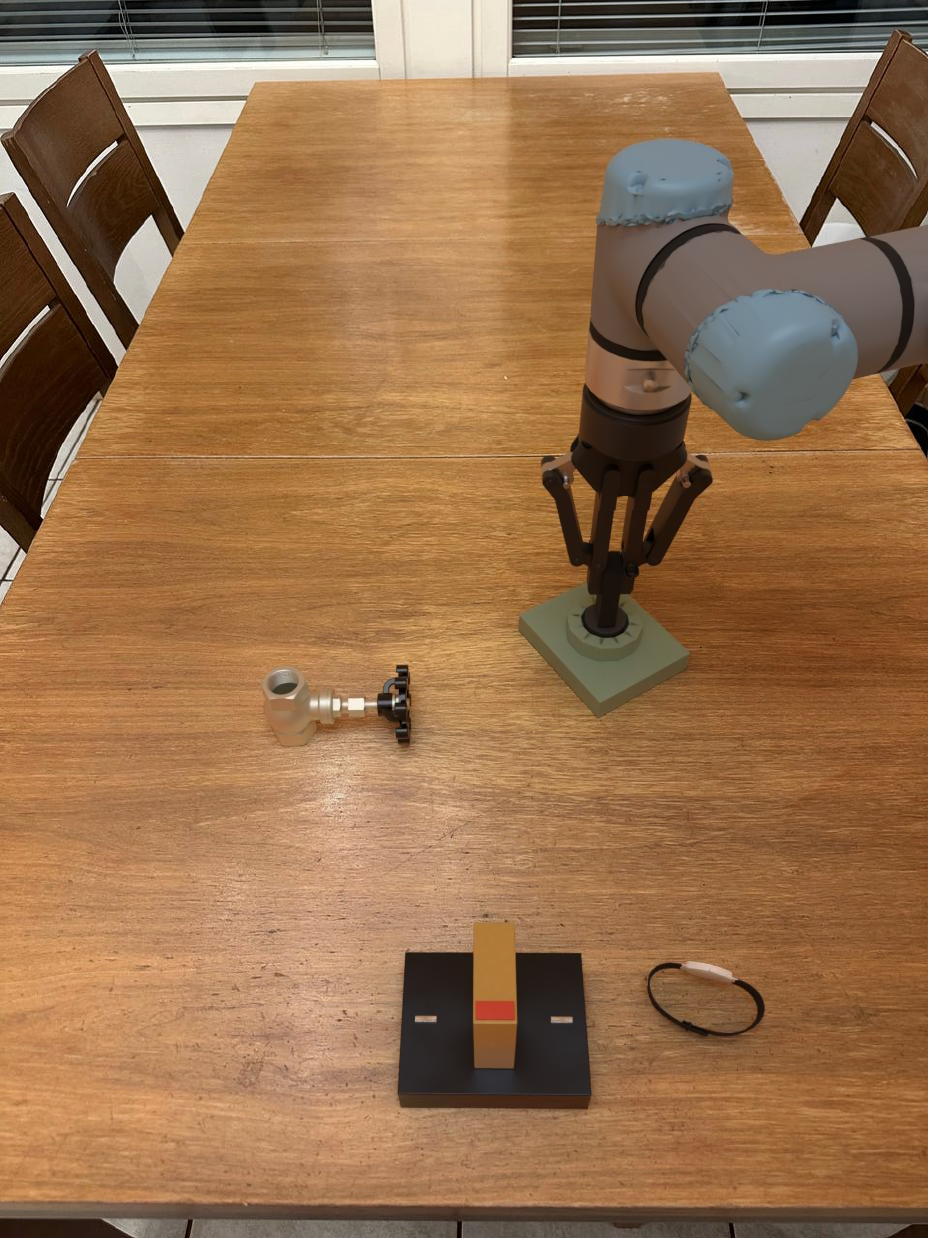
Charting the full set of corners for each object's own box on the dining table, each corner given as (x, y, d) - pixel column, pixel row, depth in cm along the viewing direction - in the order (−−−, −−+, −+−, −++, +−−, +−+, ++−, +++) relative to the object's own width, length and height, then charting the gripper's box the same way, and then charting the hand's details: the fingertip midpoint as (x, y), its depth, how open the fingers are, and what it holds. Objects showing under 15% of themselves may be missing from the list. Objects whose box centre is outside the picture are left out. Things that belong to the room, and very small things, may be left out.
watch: (760, 988, 65) (772, 967, 63) (755, 1057, 62) (767, 1038, 60) (649, 958, 67) (656, 936, 64) (638, 1024, 64) (645, 1004, 61)
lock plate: (578, 970, 66) (581, 951, 64) (588, 1109, 60) (592, 1094, 58) (407, 969, 67) (404, 950, 64) (400, 1108, 61) (397, 1093, 58)
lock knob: (474, 973, 63) (473, 920, 57) (511, 973, 63) (514, 920, 57) (474, 1068, 59) (473, 1022, 53) (514, 1069, 59) (517, 1022, 53)
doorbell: (686, 668, 84) (694, 639, 81) (597, 718, 81) (602, 689, 78) (603, 587, 91) (607, 558, 88) (518, 630, 88) (519, 600, 85)
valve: (266, 763, 78) (410, 760, 78) (251, 715, 73) (405, 712, 73) (275, 699, 83) (412, 696, 83) (262, 651, 78) (407, 648, 78)
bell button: (632, 635, 84) (634, 622, 82) (599, 652, 83) (601, 639, 81) (606, 610, 86) (608, 597, 85) (575, 626, 85) (576, 613, 83)
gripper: (545, 419, 63) (532, 648, 80) (742, 418, 63) (686, 647, 80) (541, 356, 68) (529, 584, 85) (723, 354, 68) (673, 584, 85)
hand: (605, 615), depth 83 cm, fingers closed
